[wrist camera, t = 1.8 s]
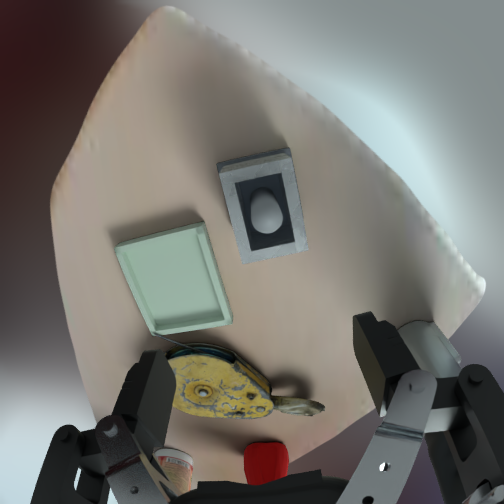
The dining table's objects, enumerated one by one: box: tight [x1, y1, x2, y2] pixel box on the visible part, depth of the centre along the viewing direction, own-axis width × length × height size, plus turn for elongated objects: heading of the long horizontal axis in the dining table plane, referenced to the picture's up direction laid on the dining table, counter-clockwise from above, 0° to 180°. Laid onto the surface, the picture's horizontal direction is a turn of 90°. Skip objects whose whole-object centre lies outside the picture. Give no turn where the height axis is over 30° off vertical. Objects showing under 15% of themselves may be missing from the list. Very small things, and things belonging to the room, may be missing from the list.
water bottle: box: [244, 442, 289, 485], centre depth 43 cm, size 9×11×25 cm
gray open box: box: [219, 153, 308, 264], centre depth 27 cm, size 6×8×5 cm
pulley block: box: [154, 334, 325, 419], centre depth 43 cm, size 14×6×30 cm
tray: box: [114, 221, 233, 336], centre depth 37 cm, size 12×14×2 cm
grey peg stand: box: [216, 148, 303, 233], centre depth 28 cm, size 8×8×12 cm
